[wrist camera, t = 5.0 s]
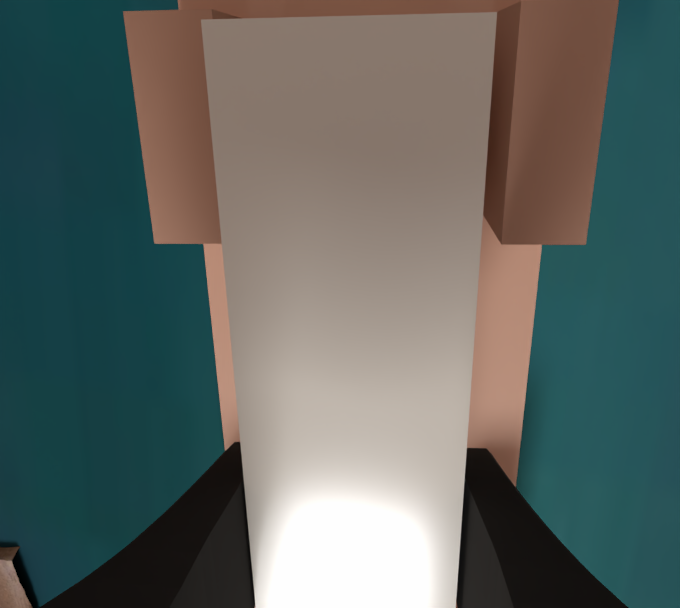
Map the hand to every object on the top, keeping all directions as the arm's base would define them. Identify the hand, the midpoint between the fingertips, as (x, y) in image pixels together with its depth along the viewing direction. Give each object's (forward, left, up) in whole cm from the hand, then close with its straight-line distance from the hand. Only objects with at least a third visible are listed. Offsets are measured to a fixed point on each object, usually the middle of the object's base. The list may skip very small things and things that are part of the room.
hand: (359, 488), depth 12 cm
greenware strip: (0, 0, -4) cm, 4 cm away
